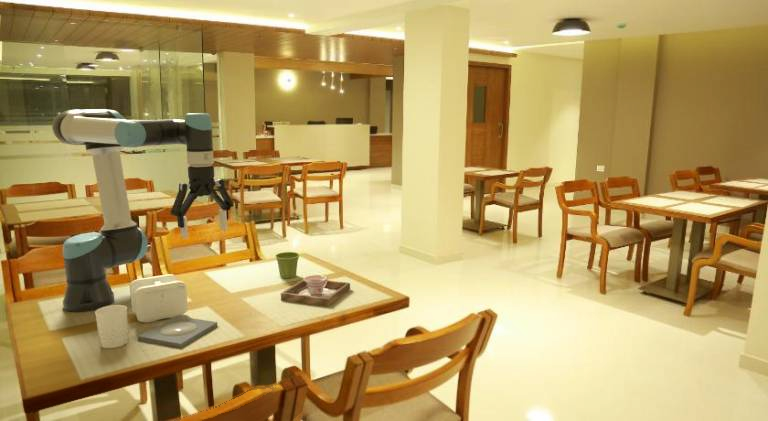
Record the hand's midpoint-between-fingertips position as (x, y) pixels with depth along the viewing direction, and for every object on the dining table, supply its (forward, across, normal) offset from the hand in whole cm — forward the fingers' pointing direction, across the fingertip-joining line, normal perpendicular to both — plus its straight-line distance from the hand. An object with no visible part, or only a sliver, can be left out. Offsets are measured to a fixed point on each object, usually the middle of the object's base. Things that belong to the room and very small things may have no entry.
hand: (204, 233), depth 165 cm
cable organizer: (+27, -10, +12) cm, 31 cm away
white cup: (+27, -29, +2) cm, 39 cm away
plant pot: (+27, +42, +11) cm, 51 cm away
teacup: (+27, +35, -12) cm, 45 cm away
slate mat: (+27, -13, -5) cm, 30 cm away
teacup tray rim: (+26, +35, -12) cm, 45 cm away
